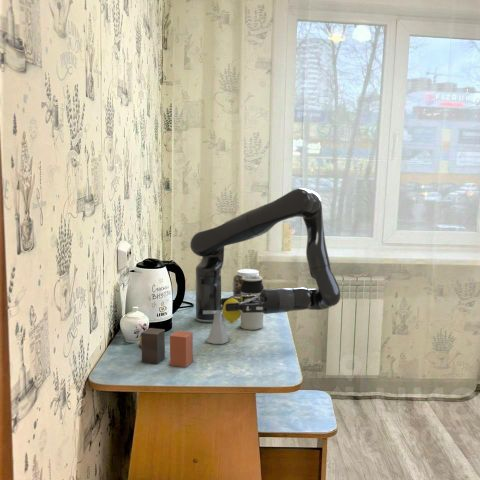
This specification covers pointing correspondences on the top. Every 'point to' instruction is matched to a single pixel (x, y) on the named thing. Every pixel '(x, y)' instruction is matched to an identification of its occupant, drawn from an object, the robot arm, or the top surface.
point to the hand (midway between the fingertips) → (223, 304)
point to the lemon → (231, 312)
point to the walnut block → (153, 345)
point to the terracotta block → (181, 348)
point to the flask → (217, 330)
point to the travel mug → (254, 287)
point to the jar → (238, 280)
